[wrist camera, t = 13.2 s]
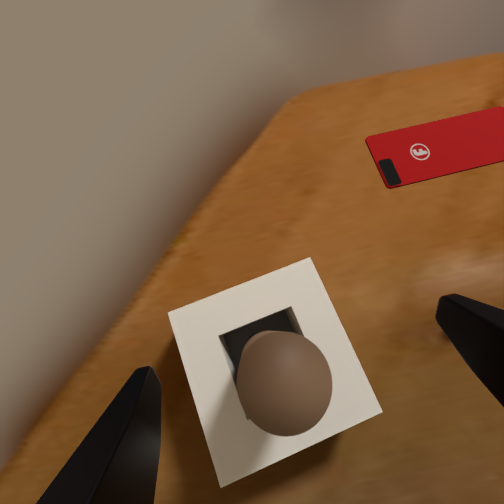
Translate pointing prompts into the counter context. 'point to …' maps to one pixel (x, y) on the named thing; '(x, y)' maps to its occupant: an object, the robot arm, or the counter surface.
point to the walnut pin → (283, 382)
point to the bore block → (229, 354)
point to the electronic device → (439, 147)
